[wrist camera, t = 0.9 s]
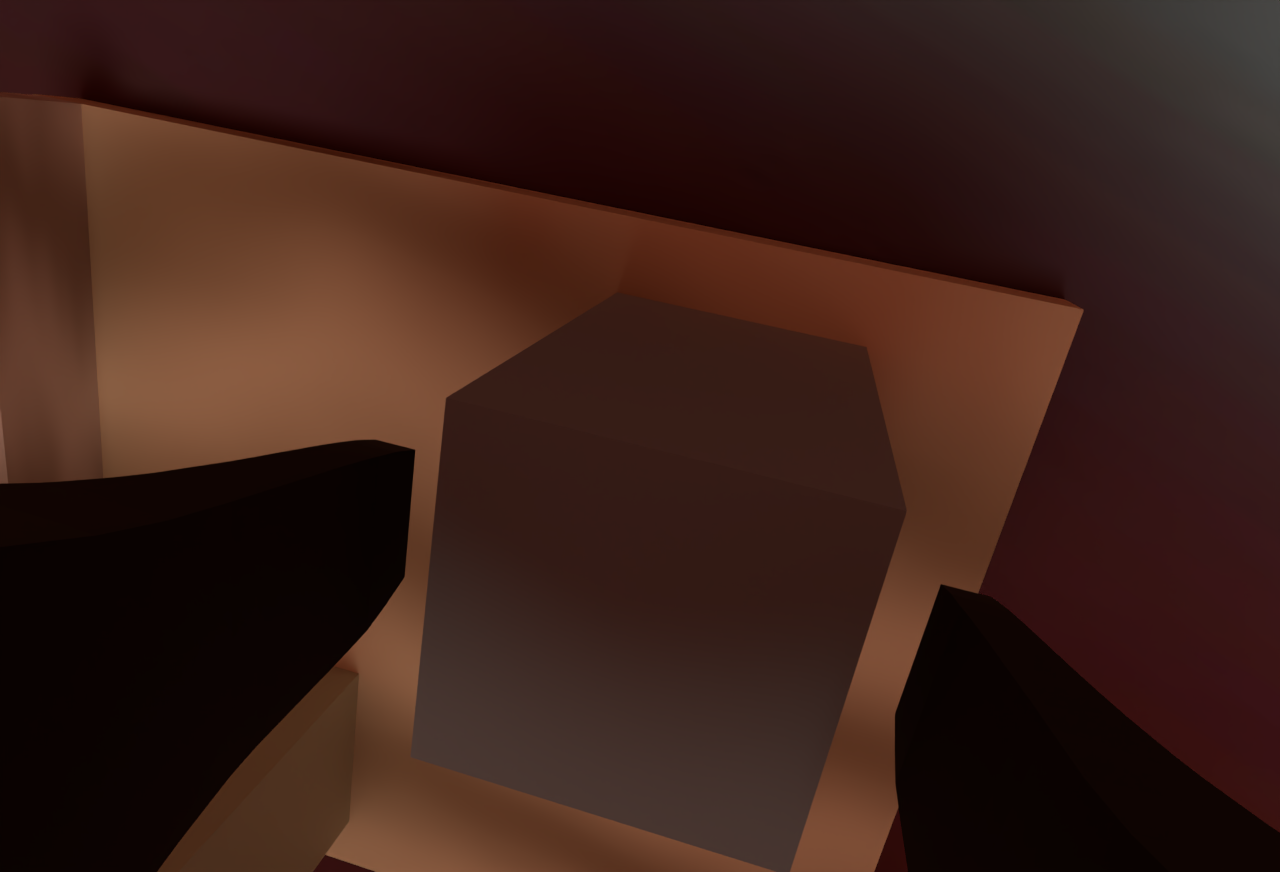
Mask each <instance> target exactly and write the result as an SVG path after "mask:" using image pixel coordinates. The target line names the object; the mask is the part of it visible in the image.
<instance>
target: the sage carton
mask: <svg viewBox="0 0 1280 872" xmlns="http://www.w3.org/2000/svg"><path fill="white" fill-rule="evenodd" d="M358 682H359V673H355V672H352V671H349V670H345V669H342V668H339V667H335V666H334V667H333V668H332V669H331V670H330V671H329V672H328V673H327V674H326V675H325V676H324V677H323V678H322V679H321V680H320V681H319V682H318V683H317V684H316V685H315V686H314V687H313V688H312V690H311V691H310V692H309V693H308V694H307V695H306V696H305V697H304V698H303V699H302V700H301V701H300V702H299V703H298V704H297V705H296V706H295V707H294V708H293V709H292V710H291V711H290V712H289V713H288V714H287V715H286V717H285V718H284V719H283V720H282V721H281V722H280V723H279V724H278V725H277V726H276V727H275V728H274V729H273V730H272V731H271V732H270V733H269V734H268V735H267V736H266V737H265V738H264V739H263V740H262V741H261V742H260V744H259V745H258V746H257V747H256V748H255V749H254V750H253V751H252V752H251V753H250V755H249V756H248V757H247V758H246V759H245V760H244V761H243V763H242V764H241V765H240V766H239V767H238V768H237V769H236V770H235V772H234V773H233V774H232V775H231V776H230V777H229V779H228V780H227V781H226V783H225V784H224V785H223V786H222V788H221V789H220V790H219V792H218V793H217V794H216V795H215V797H214V798H213V799H212V801H211V802H210V803H209V804H208V806H207V807H206V808H205V809H204V811H203V812H202V813H201V815H200V816H199V817H198V818H197V820H196V821H195V822H194V824H193V825H192V826H191V827H190V829H189V830H188V831H187V833H186V834H185V835H184V836H183V838H182V839H181V840H180V842H179V843H178V844H177V846H176V847H175V848H174V850H173V851H172V852H171V854H170V855H169V856H168V858H167V859H166V861H165V862H164V863H163V865H162V866H161V867H160V869H159V870H158V871H157V872H313V871H314V869H315V868H316V867H317V865H318V864H319V863H320V861H321V860H322V858H323V857H324V856H325V854H326V853H327V851H328V850H329V849H330V847H331V846H332V845H333V843H334V842H335V840H336V839H337V838H338V836H339V835H340V833H341V832H342V831H343V829H344V828H345V826H346V825H347V824H348V822H349V814H350V800H351V785H352V770H353V755H354V741H355V726H356V711H357V696H358Z"/></svg>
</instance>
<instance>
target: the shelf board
mask: <svg viewBox="0 0 1280 872" xmlns="http://www.w3.org/2000/svg"><path fill="white" fill-rule="evenodd" d="M617 292H618V293H622V294H627V295H632V296H636V297H641V298H645V299H650V300H654V301H659V302H663V303H668V304H673V305H677V306H682V307H686V308H691V309H695V310H700V311H705V312H709V313H714V314H718V315H723V316H727V317H732V318H736V319H741V320H746V321H750V322H755V323H759V324H764V325H768V326H773V327H778V328H782V329H787V330H791V331H796V332H800V333H805V334H809V335H814V336H819V337H823V338H828V339H832V340H837V341H841V342H846V343H850V344H855V345H860V346H864V347H867V351H868V355H869V359H870V363H871V367H872V371H873V375H874V379H875V383H876V387H877V391H878V395H879V399H880V404H881V408H882V412H883V416H884V420H885V424H886V428H887V432H888V436H889V440H890V444H891V448H892V452H893V456H894V460H895V464H896V469H897V473H898V477H899V481H900V485H901V489H902V493H903V497H904V501H905V505H906V509H907V512H906V516H905V519H904V522H903V525H902V528H901V531H900V534H899V537H898V540H897V543H896V546H895V549H894V553H893V556H892V559H891V562H890V565H889V568H888V571H887V574H886V577H885V580H884V583H883V586H882V589H881V593H880V596H879V599H878V602H877V605H876V608H875V611H874V614H873V617H872V620H871V623H870V626H869V630H868V633H867V636H866V639H865V642H864V645H863V648H862V651H861V654H860V657H859V660H858V663H857V667H856V670H855V673H854V676H853V679H852V682H851V685H850V688H849V691H848V694H847V697H846V700H845V703H844V707H843V710H842V713H841V716H840V719H839V722H838V725H837V728H836V731H835V734H834V737H833V740H832V744H831V747H830V750H829V753H828V756H827V759H826V762H825V765H824V768H823V771H822V774H821V777H820V781H819V784H818V787H817V790H816V793H815V796H814V799H813V802H812V805H811V808H810V811H809V814H808V818H807V821H806V824H805V827H804V830H803V833H802V836H801V839H800V842H799V845H798V848H797V851H796V854H795V858H794V861H793V864H792V867H791V870H790V872H874V871H875V868H876V865H877V863H878V860H879V857H880V855H881V852H882V849H883V847H884V844H885V841H886V839H887V836H888V833H889V831H890V828H891V825H892V823H893V820H894V817H895V815H896V812H897V809H898V800H897V792H896V785H895V712H896V709H897V707H898V704H899V701H900V698H901V695H902V692H903V690H904V687H905V684H906V681H907V678H908V676H909V673H910V670H911V667H912V664H913V661H914V659H915V656H916V653H917V650H918V647H919V644H920V642H921V639H922V636H923V633H924V630H925V628H926V625H927V622H928V619H929V616H930V613H931V611H932V608H933V605H934V602H935V599H936V597H937V594H938V591H939V588H940V585H941V584H943V585H947V586H951V587H954V588H958V589H962V590H966V591H970V592H974V593H978V592H979V589H980V587H981V584H982V581H983V579H984V576H985V573H986V571H987V568H988V565H989V563H990V560H991V557H992V555H993V552H994V549H995V547H996V544H997V541H998V539H999V536H1000V533H1001V531H1002V528H1003V525H1004V523H1005V520H1006V517H1007V514H1008V512H1009V509H1010V506H1011V504H1012V501H1013V498H1014V496H1015V493H1016V490H1017V488H1018V485H1019V482H1020V480H1021V477H1022V474H1023V472H1024V469H1025V466H1026V464H1027V461H1028V458H1029V456H1030V453H1031V450H1032V447H1033V445H1034V442H1035V439H1036V437H1037V434H1038V431H1039V429H1040V426H1041V423H1042V421H1043V418H1044V415H1045V413H1046V410H1047V407H1048V405H1049V402H1050V399H1051V397H1052V394H1053V391H1054V389H1055V386H1056V383H1057V381H1058V378H1059V375H1060V372H1061V370H1062V367H1063V364H1064V362H1065V359H1066V356H1067V354H1068V351H1069V348H1070V346H1071V343H1072V340H1073V338H1074V335H1075V332H1076V330H1077V327H1078V324H1079V322H1080V319H1081V316H1082V314H1083V311H1084V309H1082V308H1080V307H1078V306H1076V305H1074V304H1073V303H1071V302H1069V301H1067V300H1065V299H1060V298H1055V297H1050V296H1046V295H1041V294H1036V293H1031V292H1026V291H1021V290H1016V289H1011V288H1006V287H1002V286H997V285H992V284H987V283H982V282H977V281H972V280H967V279H962V278H957V277H953V276H948V275H943V274H938V273H933V272H928V271H923V270H918V269H913V268H909V267H904V266H899V265H894V264H889V263H884V262H879V261H874V260H869V259H864V258H860V257H855V256H850V255H845V254H840V253H835V252H830V251H825V250H820V249H816V248H811V247H806V246H801V245H796V244H791V243H786V242H781V241H776V240H772V239H767V238H762V237H757V236H752V235H747V234H742V233H737V232H732V231H727V230H723V229H718V228H713V227H708V226H703V225H698V224H693V223H688V222H683V221H679V220H674V219H669V218H664V217H659V216H654V215H649V214H644V213H639V212H634V211H630V210H625V209H620V208H615V207H610V206H605V205H600V204H595V203H590V202H586V201H581V200H576V199H571V198H566V197H561V196H556V195H551V194H546V193H541V192H537V191H532V190H527V189H522V188H517V187H512V186H507V185H502V184H497V183H493V182H488V181H483V180H478V179H473V178H468V177H463V176H458V175H453V174H448V173H444V172H439V171H434V170H429V169H424V168H419V167H414V166H409V165H404V164H400V163H395V162H390V161H385V160H380V159H375V158H370V157H365V156H360V155H355V154H351V153H346V152H341V151H336V150H331V149H326V148H321V147H316V146H311V145H307V144H302V143H297V142H292V141H287V140H282V139H277V138H272V137H267V136H262V135H258V134H253V133H248V132H243V131H238V130H233V129H228V128H223V127H218V126H214V125H209V124H204V123H199V122H194V121H189V120H184V119H179V118H174V117H169V116H165V115H160V114H155V113H150V112H145V111H140V110H135V109H130V108H125V107H121V106H116V105H111V104H106V103H101V102H96V101H91V100H86V99H81V98H72V97H61V96H50V95H39V94H33V95H29V94H18V93H7V92H0V484H2V483H42V482H60V481H73V480H86V479H98V478H111V477H120V476H130V475H139V474H147V473H155V472H162V471H169V470H175V469H182V468H188V467H195V466H202V465H208V464H215V463H221V462H228V461H234V460H240V459H246V458H251V457H257V456H262V455H268V454H273V453H279V452H284V451H290V450H295V449H301V448H307V447H312V446H318V445H324V444H330V443H337V442H344V441H353V440H379V441H383V442H387V443H391V444H395V445H399V446H403V447H407V448H411V449H415V461H414V473H413V485H412V497H411V509H410V520H409V532H408V544H407V556H406V568H405V577H404V579H403V580H402V582H401V583H400V585H399V586H398V588H397V589H396V591H395V592H394V594H393V595H392V597H391V598H390V600H389V601H388V603H387V604H386V606H385V607H384V608H383V610H382V611H381V612H380V614H379V615H378V616H377V618H376V619H375V621H374V622H373V623H372V625H371V626H370V627H369V629H368V630H367V631H366V632H365V633H364V635H363V636H362V637H361V638H360V639H359V640H358V641H357V642H356V643H355V644H354V645H353V646H352V648H351V649H350V650H349V651H348V652H347V653H346V654H345V655H344V656H343V657H342V658H341V659H340V660H339V661H338V662H337V663H336V665H335V667H339V668H342V669H345V670H349V671H352V672H355V673H359V682H358V696H357V711H356V726H355V741H354V755H353V770H352V785H351V800H350V814H349V822H348V824H347V825H346V826H345V828H344V829H343V831H342V832H341V833H340V835H339V836H338V838H337V839H336V840H335V842H334V843H333V845H332V846H331V847H330V849H329V850H328V851H327V853H326V854H325V855H328V856H331V857H334V858H337V859H340V860H343V861H346V862H349V863H352V864H355V865H358V866H361V867H364V868H367V869H369V870H372V871H375V872H775V871H772V870H769V869H766V868H763V867H760V866H756V865H753V864H750V863H747V862H744V861H740V860H737V859H734V858H731V857H728V856H724V855H721V854H718V853H715V852H712V851H708V850H705V849H702V848H699V847H696V846H692V845H689V844H686V843H683V842H680V841H676V840H673V839H670V838H667V837H664V836H661V835H657V834H654V833H651V832H648V831H645V830H641V829H638V828H635V827H632V826H629V825H625V824H622V823H619V822H616V821H613V820H609V819H606V818H603V817H600V816H597V815H593V814H590V813H587V812H584V811H581V810H578V809H574V808H571V807H568V806H565V805H562V804H558V803H555V802H552V801H549V800H546V799H542V798H539V797H536V796H533V795H530V794H526V793H523V792H520V791H517V790H514V789H510V788H507V787H504V786H501V785H498V784H494V783H491V782H488V781H485V780H482V779H479V778H475V777H472V776H469V775H466V774H463V773H459V772H456V771H453V770H450V769H447V768H443V767H440V766H437V765H434V764H431V763H427V762H424V761H421V760H418V759H415V758H411V757H410V756H411V746H412V736H413V726H414V716H415V706H416V696H417V685H418V675H419V665H420V655H421V645H422V635H423V625H424V615H425V604H426V594H427V584H428V574H429V564H430V554H431V544H432V533H433V523H434V513H435V503H436V493H437V483H438V473H439V463H440V452H441V442H442V432H443V422H444V412H445V402H446V397H448V396H450V395H451V394H453V393H455V392H456V391H458V390H459V389H461V388H463V387H464V386H466V385H468V384H469V383H471V382H472V381H474V380H476V379H477V378H479V377H481V376H482V375H484V374H485V373H487V372H489V371H490V370H492V369H494V368H495V367H497V366H498V365H500V364H502V363H503V362H505V361H507V360H508V359H510V358H511V357H513V356H515V355H516V354H518V353H520V352H521V351H523V350H524V349H526V348H528V347H529V346H531V345H533V344H534V343H536V342H537V341H539V340H541V339H542V338H544V337H546V336H547V335H549V334H550V333H552V332H554V331H555V330H557V329H559V328H560V327H562V326H563V325H565V324H567V323H568V322H570V321H572V320H573V319H575V318H576V317H578V316H580V315H581V314H583V313H585V312H586V311H588V310H589V309H591V308H593V307H594V306H596V305H598V304H599V303H601V302H602V301H604V300H606V299H607V298H609V297H611V296H612V295H614V294H615V293H617Z"/></svg>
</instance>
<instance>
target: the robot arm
mask: <svg viewBox="0 0 1280 872" xmlns="http://www.w3.org/2000/svg"><path fill="white" fill-rule="evenodd" d="M414 461H415V449H411V448H407V447H403V446H399V445H395V444H391V443H387V442H383V441H379V440H353V441H344V442H337V443H330V444H324V445H318V446H312V447H307V448H301V449H295V450H290V451H284V452H279V453H273V454H268V455H262V456H257V457H251V458H246V459H240V460H234V461H228V462H221V463H215V464H208V465H202V466H195V467H188V468H182V469H175V470H169V471H162V472H155V473H147V474H139V475H130V476H120V477H111V478H98V479H86V480H73V481H60V482H42V483H2V484H0V872H157V871H158V870H159V869H160V867H161V866H162V865H163V863H164V862H165V861H166V859H167V858H168V856H169V855H170V854H171V852H172V851H173V850H174V848H175V847H176V846H177V844H178V843H179V842H180V840H181V839H182V838H183V836H184V835H185V834H186V833H187V831H188V830H189V829H190V827H191V826H192V825H193V824H194V822H195V821H196V820H197V818H198V817H199V816H200V815H201V813H202V812H203V811H204V809H205V808H206V807H207V806H208V804H209V803H210V802H211V801H212V799H213V798H214V797H215V795H216V794H217V793H218V792H219V790H220V789H221V788H222V786H223V785H224V784H225V783H226V781H227V780H228V779H229V777H230V776H231V775H232V774H233V773H234V772H235V770H236V769H237V768H238V767H239V766H240V765H241V764H242V763H243V761H244V760H245V759H246V758H247V757H248V756H249V755H250V753H251V752H252V751H253V750H254V749H255V748H256V747H257V746H258V745H259V744H260V742H261V741H262V740H263V739H264V738H265V737H266V736H267V735H268V734H269V733H270V732H271V731H272V730H273V729H274V728H275V727H276V726H277V725H278V724H279V723H280V722H281V721H282V720H283V719H284V718H285V717H286V715H287V714H288V713H289V712H290V711H291V710H292V709H293V708H294V707H295V706H296V705H297V704H298V703H299V702H300V701H301V700H302V699H303V698H304V697H305V696H306V695H307V694H308V693H309V692H310V691H311V690H312V688H313V687H314V686H315V685H316V684H317V683H318V682H319V681H320V680H321V679H322V678H323V677H324V676H325V675H326V674H327V673H328V672H329V671H330V670H331V669H332V668H333V667H334V666H335V665H336V663H337V662H338V661H339V660H340V659H341V658H342V657H343V656H344V655H345V654H346V653H347V652H348V651H349V650H350V649H351V648H352V646H353V645H354V644H355V643H356V642H357V641H358V640H359V639H360V638H361V637H362V636H363V635H364V633H365V632H366V631H367V630H368V629H369V627H370V626H371V625H372V623H373V622H374V621H375V619H376V618H377V616H378V615H379V614H380V612H381V611H382V610H383V608H384V607H385V606H386V604H387V603H388V601H389V600H390V598H391V597H392V595H393V594H394V592H395V591H396V589H397V588H398V586H399V585H400V583H401V582H402V580H403V579H404V577H405V568H406V556H407V544H408V532H409V520H410V509H411V497H412V485H413V473H414ZM895 785H896V792H897V800H898V807H899V813H900V820H901V827H902V834H903V840H904V847H905V853H906V860H907V866H908V872H1280V833H1279V832H1278V831H1276V830H1275V829H1273V828H1272V827H1270V826H1269V825H1267V824H1266V823H1265V822H1263V821H1262V820H1260V819H1259V818H1258V817H1256V816H1255V815H1253V814H1252V813H1251V812H1249V811H1248V810H1247V809H1245V808H1244V807H1242V806H1241V805H1240V804H1238V803H1237V802H1235V801H1234V800H1233V799H1231V798H1230V797H1228V796H1227V795H1226V794H1224V793H1223V792H1222V791H1220V790H1219V789H1217V788H1216V787H1215V786H1213V785H1212V784H1210V783H1209V782H1208V781H1206V780H1205V779H1204V778H1202V777H1201V776H1200V775H1198V774H1197V773H1196V772H1194V771H1193V770H1192V769H1191V768H1189V767H1188V766H1187V765H1185V764H1184V763H1183V762H1181V761H1180V760H1179V759H1178V758H1176V757H1175V756H1174V755H1173V754H1171V753H1170V752H1169V751H1168V750H1166V749H1165V748H1164V747H1163V746H1162V745H1160V744H1159V743H1158V742H1157V741H1156V740H1154V739H1153V738H1152V737H1151V736H1149V735H1148V734H1147V733H1146V732H1145V731H1143V730H1142V729H1141V728H1140V727H1139V726H1137V725H1136V724H1135V723H1134V722H1132V721H1131V720H1130V719H1129V718H1128V717H1126V716H1125V715H1124V714H1123V713H1122V712H1121V711H1120V710H1118V709H1117V708H1116V707H1115V706H1114V705H1113V704H1112V703H1110V702H1109V701H1108V700H1107V699H1106V698H1105V697H1104V696H1102V695H1101V694H1100V693H1099V692H1098V691H1097V690H1096V689H1095V688H1093V687H1092V686H1091V685H1090V684H1089V683H1088V682H1087V681H1086V680H1085V679H1083V678H1082V677H1081V676H1080V675H1079V674H1078V673H1077V672H1076V671H1075V670H1074V669H1073V668H1071V667H1070V666H1069V665H1068V664H1067V663H1066V662H1065V661H1064V660H1063V659H1062V658H1061V657H1060V656H1058V655H1057V654H1056V653H1055V652H1054V651H1053V650H1052V649H1051V648H1050V647H1049V646H1048V645H1047V644H1045V643H1044V642H1043V641H1042V640H1041V639H1040V638H1039V637H1038V636H1037V635H1036V634H1035V633H1034V632H1033V631H1031V630H1030V629H1029V628H1028V627H1027V626H1026V625H1025V624H1024V623H1023V622H1021V621H1020V620H1019V619H1018V618H1017V617H1016V616H1015V615H1014V614H1012V613H1011V612H1010V611H1009V610H1008V609H1006V608H1005V607H1004V606H1003V605H1001V604H1000V603H999V602H997V601H996V600H995V599H993V598H992V597H990V596H986V595H982V594H978V593H974V592H970V591H966V590H962V589H958V588H954V587H951V586H947V585H943V584H941V585H940V588H939V591H938V594H937V597H936V599H935V602H934V605H933V608H932V611H931V613H930V616H929V619H928V622H927V625H926V628H925V630H924V633H923V636H922V639H921V642H920V644H919V647H918V650H917V653H916V656H915V659H914V661H913V664H912V667H911V670H910V673H909V676H908V678H907V681H906V684H905V687H904V690H903V692H902V695H901V698H900V701H899V704H898V707H897V709H896V712H895Z"/></svg>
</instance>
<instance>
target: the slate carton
mask: <svg viewBox="0 0 1280 872" xmlns="http://www.w3.org/2000/svg"><path fill="white" fill-rule="evenodd" d="M906 512H907V509H906V505H905V501H904V497H903V493H902V489H901V485H900V481H899V477H898V473H897V469H896V464H895V460H894V456H893V452H892V448H891V444H890V440H889V436H888V432H887V428H886V424H885V420H884V416H883V412H882V408H881V404H880V399H879V395H878V391H877V387H876V383H875V379H874V375H873V371H872V367H871V363H870V359H869V355H868V351H867V347H864V346H860V345H855V344H850V343H846V342H841V341H837V340H832V339H828V338H823V337H819V336H814V335H809V334H805V333H800V332H796V331H791V330H787V329H782V328H778V327H773V326H768V325H764V324H759V323H755V322H750V321H746V320H741V319H736V318H732V317H727V316H723V315H718V314H714V313H709V312H705V311H700V310H695V309H691V308H686V307H682V306H677V305H673V304H668V303H663V302H659V301H654V300H650V299H645V298H641V297H636V296H632V295H627V294H622V293H618V292H617V293H615V294H614V295H612V296H611V297H609V298H607V299H606V300H604V301H602V302H601V303H599V304H598V305H596V306H594V307H593V308H591V309H589V310H588V311H586V312H585V313H583V314H581V315H580V316H578V317H576V318H575V319H573V320H572V321H570V322H568V323H567V324H565V325H563V326H562V327H560V328H559V329H557V330H555V331H554V332H552V333H550V334H549V335H547V336H546V337H544V338H542V339H541V340H539V341H537V342H536V343H534V344H533V345H531V346H529V347H528V348H526V349H524V350H523V351H521V352H520V353H518V354H516V355H515V356H513V357H511V358H510V359H508V360H507V361H505V362H503V363H502V364H500V365H498V366H497V367H495V368H494V369H492V370H490V371H489V372H487V373H485V374H484V375H482V376H481V377H479V378H477V379H476V380H474V381H472V382H471V383H469V384H468V385H466V386H464V387H463V388H461V389H459V390H458V391H456V392H455V393H453V394H451V395H450V396H448V397H446V402H445V412H444V422H443V432H442V442H441V452H440V463H439V473H438V483H437V493H436V503H435V513H434V523H433V533H432V544H431V554H430V564H429V574H428V584H427V594H426V604H425V615H424V625H423V635H422V645H421V655H420V665H419V675H418V685H417V696H416V706H415V716H414V726H413V736H412V746H411V756H410V757H411V758H415V759H418V760H421V761H424V762H427V763H431V764H434V765H437V766H440V767H443V768H447V769H450V770H453V771H456V772H459V773H463V774H466V775H469V776H472V777H475V778H479V779H482V780H485V781H488V782H491V783H494V784H498V785H501V786H504V787H507V788H510V789H514V790H517V791H520V792H523V793H526V794H530V795H533V796H536V797H539V798H542V799H546V800H549V801H552V802H555V803H558V804H562V805H565V806H568V807H571V808H574V809H578V810H581V811H584V812H587V813H590V814H593V815H597V816H600V817H603V818H606V819H609V820H613V821H616V822H619V823H622V824H625V825H629V826H632V827H635V828H638V829H641V830H645V831H648V832H651V833H654V834H657V835H661V836H664V837H667V838H670V839H673V840H676V841H680V842H683V843H686V844H689V845H692V846H696V847H699V848H702V849H705V850H708V851H712V852H715V853H718V854H721V855H724V856H728V857H731V858H734V859H737V860H740V861H744V862H747V863H750V864H753V865H756V866H760V867H763V868H766V869H769V870H772V871H775V872H790V870H791V867H792V864H793V861H794V858H795V854H796V851H797V848H798V845H799V842H800V839H801V836H802V833H803V830H804V827H805V824H806V821H807V818H808V814H809V811H810V808H811V805H812V802H813V799H814V796H815V793H816V790H817V787H818V784H819V781H820V777H821V774H822V771H823V768H824V765H825V762H826V759H827V756H828V753H829V750H830V747H831V744H832V740H833V737H834V734H835V731H836V728H837V725H838V722H839V719H840V716H841V713H842V710H843V707H844V703H845V700H846V697H847V694H848V691H849V688H850V685H851V682H852V679H853V676H854V673H855V670H856V667H857V663H858V660H859V657H860V654H861V651H862V648H863V645H864V642H865V639H866V636H867V633H868V630H869V626H870V623H871V620H872V617H873V614H874V611H875V608H876V605H877V602H878V599H879V596H880V593H881V589H882V586H883V583H884V580H885V577H886V574H887V571H888V568H889V565H890V562H891V559H892V556H893V553H894V549H895V546H896V543H897V540H898V537H899V534H900V531H901V528H902V525H903V522H904V519H905V516H906Z"/></svg>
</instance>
